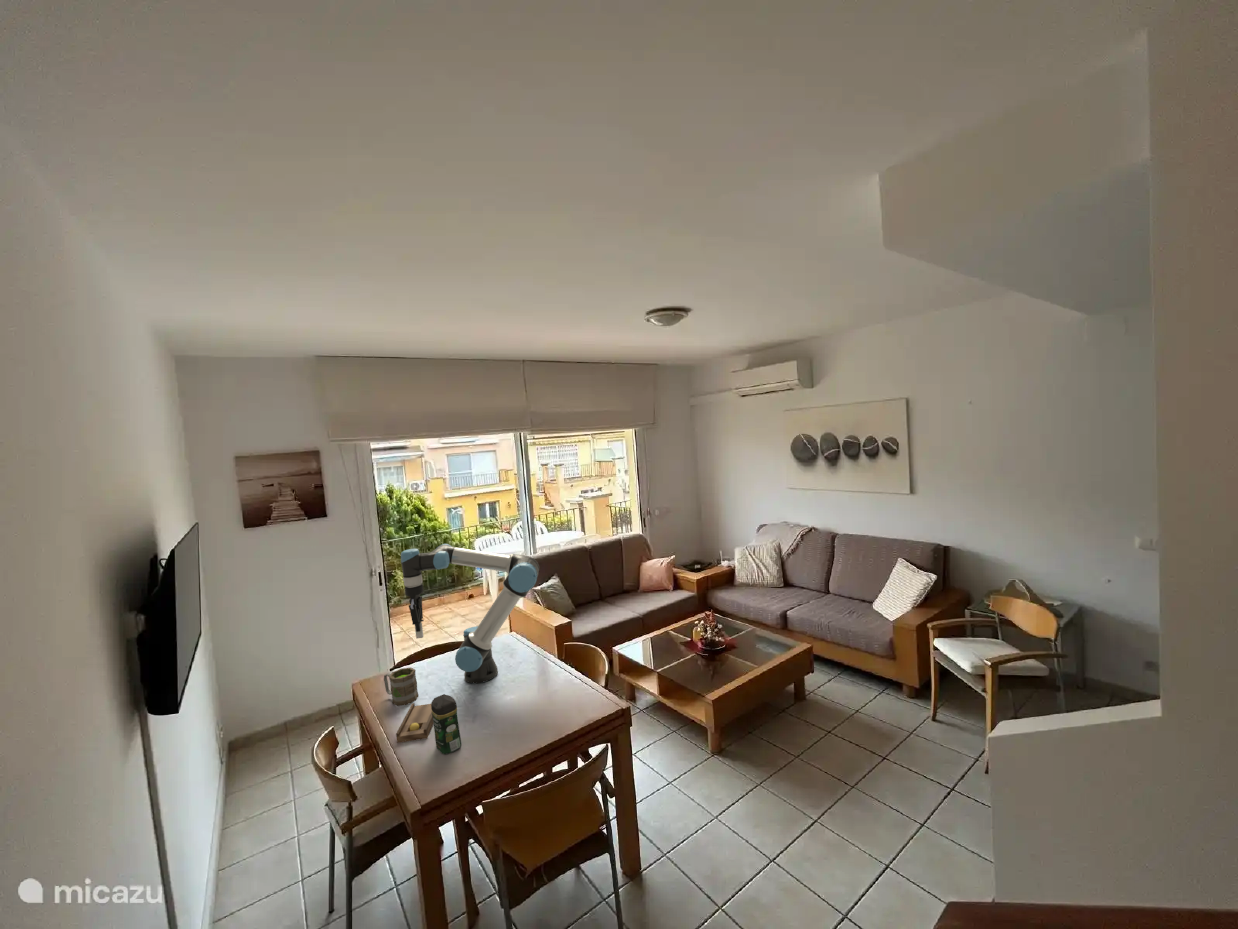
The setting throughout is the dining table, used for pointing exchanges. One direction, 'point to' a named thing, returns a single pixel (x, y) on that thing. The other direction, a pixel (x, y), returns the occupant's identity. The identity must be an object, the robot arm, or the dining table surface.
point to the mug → (402, 686)
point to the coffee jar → (446, 724)
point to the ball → (414, 727)
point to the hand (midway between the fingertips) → (419, 637)
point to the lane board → (416, 715)
